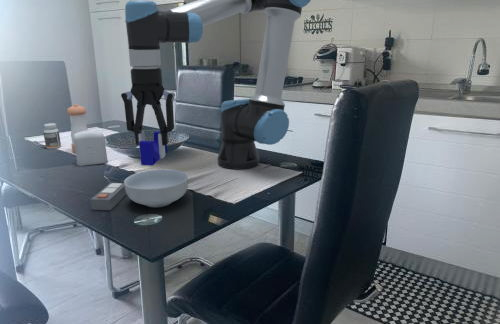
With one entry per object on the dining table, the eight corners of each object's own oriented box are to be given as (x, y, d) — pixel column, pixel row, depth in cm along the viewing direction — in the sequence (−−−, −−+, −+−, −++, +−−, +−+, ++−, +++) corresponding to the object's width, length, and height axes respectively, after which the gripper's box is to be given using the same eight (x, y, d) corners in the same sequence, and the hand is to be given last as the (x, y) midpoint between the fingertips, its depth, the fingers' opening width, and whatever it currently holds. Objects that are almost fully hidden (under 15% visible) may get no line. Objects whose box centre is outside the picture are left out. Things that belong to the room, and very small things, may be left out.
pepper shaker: (74, 154, 150) (67, 106, 144) (71, 150, 155) (64, 103, 150) (93, 151, 153) (87, 104, 148) (89, 147, 159) (83, 102, 153)
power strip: (131, 189, 114) (130, 178, 113) (110, 210, 100) (109, 198, 99) (115, 189, 114) (113, 178, 113) (92, 209, 100) (90, 197, 99)
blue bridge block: (152, 151, 108) (150, 131, 106) (167, 152, 107) (166, 131, 105) (135, 164, 96) (133, 142, 94) (152, 165, 96) (150, 142, 94)
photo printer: (76, 167, 135) (72, 133, 131) (77, 163, 139) (73, 130, 135) (107, 164, 138) (103, 130, 134) (107, 160, 142) (103, 128, 138)
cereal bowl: (192, 190, 113) (191, 167, 111) (184, 214, 97) (183, 188, 95) (135, 190, 113) (133, 168, 111) (118, 214, 97) (115, 189, 95)
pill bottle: (51, 145, 163) (48, 122, 160) (64, 145, 162) (60, 123, 159) (43, 149, 158) (39, 125, 155) (55, 149, 157) (51, 125, 154)
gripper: (184, 66, 98) (188, 153, 105) (118, 66, 99) (126, 152, 106) (176, 68, 91) (181, 161, 98) (105, 68, 92) (115, 160, 99)
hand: (153, 156), depth 102 cm, fingers closed on blue bridge block, 5 cm apart
